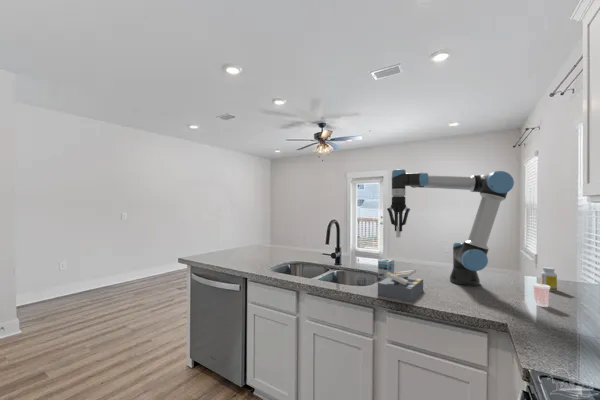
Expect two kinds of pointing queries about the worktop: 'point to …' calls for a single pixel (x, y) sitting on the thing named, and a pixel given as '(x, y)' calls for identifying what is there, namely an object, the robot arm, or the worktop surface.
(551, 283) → the pill bottle
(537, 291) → the beverage cup
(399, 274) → the rocker
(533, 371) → the worktop surface
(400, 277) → the rocker
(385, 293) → the box
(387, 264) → the light bulb box
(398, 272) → the rocker
